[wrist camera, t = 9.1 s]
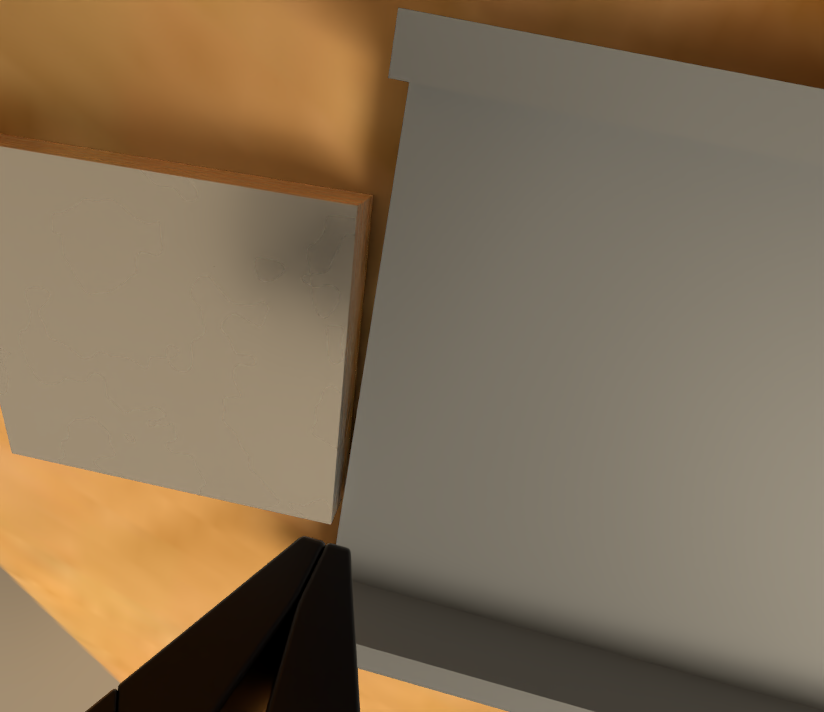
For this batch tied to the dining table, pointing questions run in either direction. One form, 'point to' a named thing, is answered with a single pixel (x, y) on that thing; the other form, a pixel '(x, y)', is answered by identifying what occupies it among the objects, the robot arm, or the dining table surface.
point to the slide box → (593, 383)
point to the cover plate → (180, 323)
